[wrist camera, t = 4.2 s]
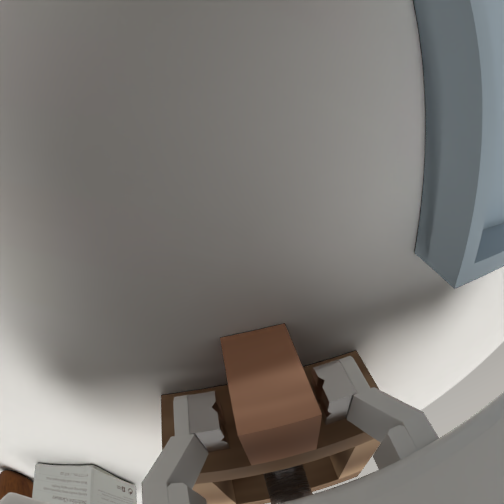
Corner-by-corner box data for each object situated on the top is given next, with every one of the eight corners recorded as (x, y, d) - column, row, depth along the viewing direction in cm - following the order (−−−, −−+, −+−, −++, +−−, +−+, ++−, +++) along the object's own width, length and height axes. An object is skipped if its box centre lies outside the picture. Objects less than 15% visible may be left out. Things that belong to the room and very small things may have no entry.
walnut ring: (134, 352, 10) (127, 447, 7) (364, 301, 11) (417, 375, 8) (208, 460, 16) (217, 510, 13) (337, 429, 17) (357, 476, 14)
